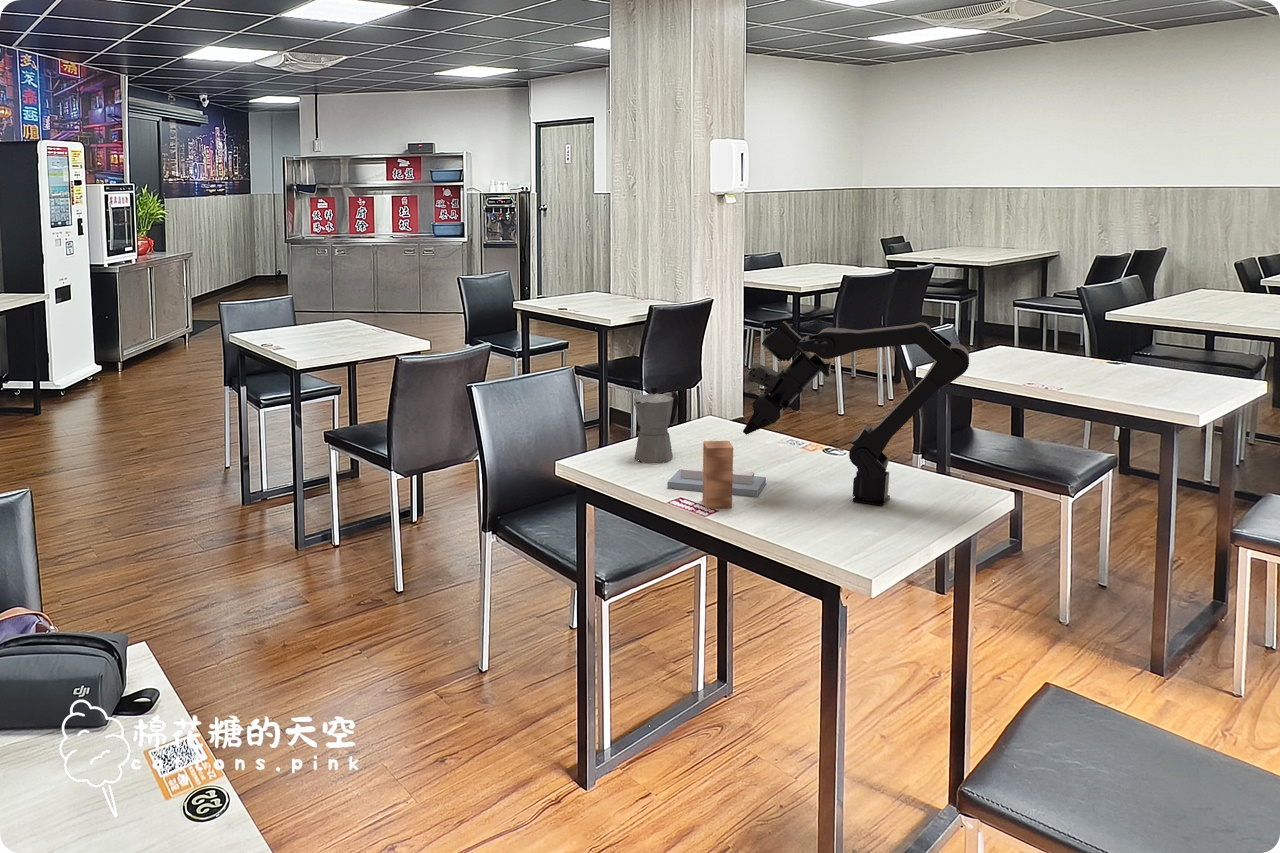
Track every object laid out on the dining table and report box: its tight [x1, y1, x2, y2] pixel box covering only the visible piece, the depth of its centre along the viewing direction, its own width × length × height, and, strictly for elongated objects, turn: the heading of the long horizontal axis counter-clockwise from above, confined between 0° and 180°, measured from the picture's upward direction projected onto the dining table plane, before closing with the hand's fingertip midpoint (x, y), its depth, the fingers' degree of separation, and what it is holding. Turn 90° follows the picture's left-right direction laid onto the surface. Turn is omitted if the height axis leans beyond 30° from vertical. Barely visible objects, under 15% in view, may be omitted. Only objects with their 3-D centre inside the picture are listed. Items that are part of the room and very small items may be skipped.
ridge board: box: [666, 465, 767, 498], centre depth 223 cm, size 20×10×4 cm, turn 72°
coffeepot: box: [633, 385, 680, 464], centre depth 243 cm, size 15×9×18 cm, turn 137°
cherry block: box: [702, 440, 734, 509], centre depth 210 cm, size 5×5×13 cm
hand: (748, 427), depth 218 cm, fingers open, 9 cm apart
